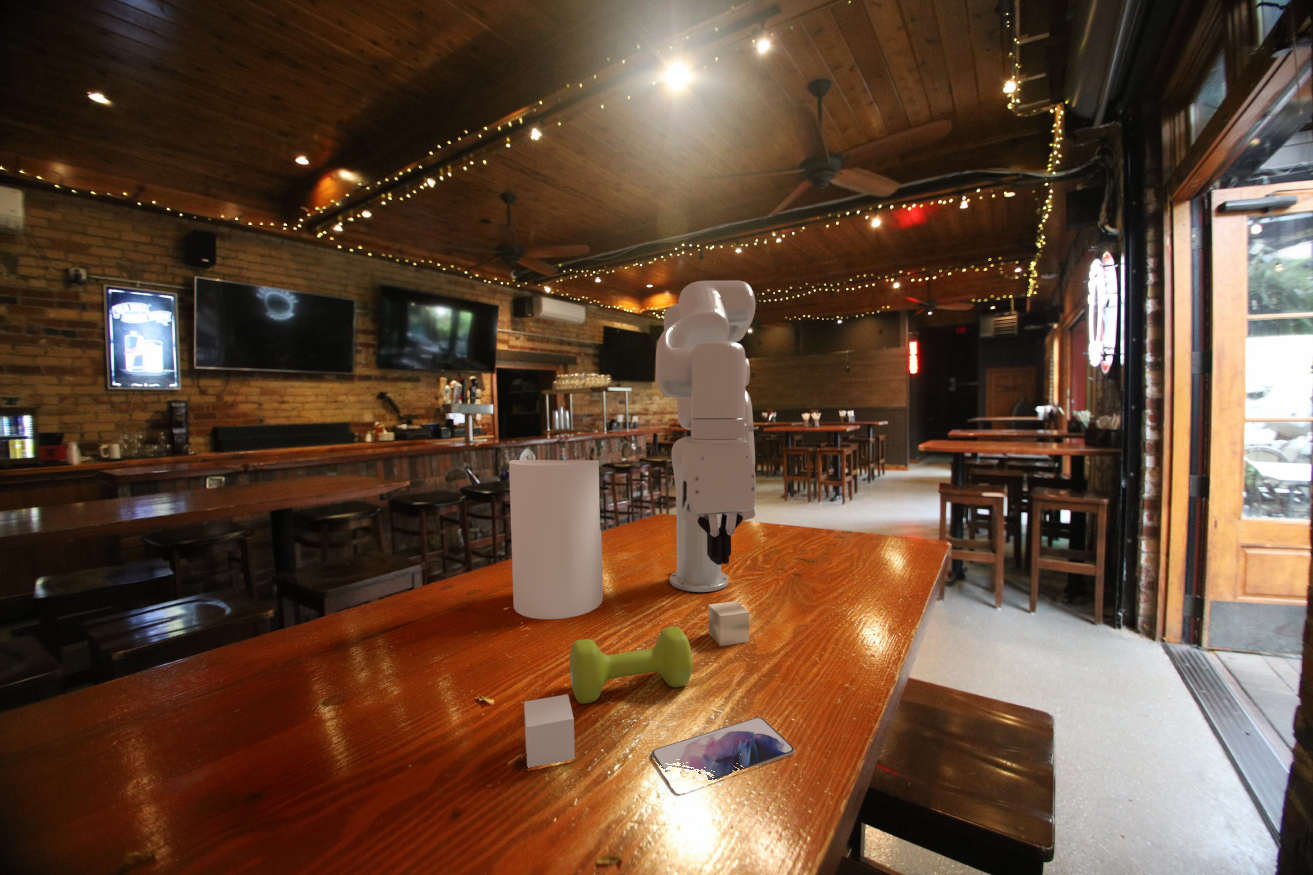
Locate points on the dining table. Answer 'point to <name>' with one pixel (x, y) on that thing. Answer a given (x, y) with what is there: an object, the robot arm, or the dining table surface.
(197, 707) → the dining table surface
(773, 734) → the smartphone
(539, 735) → the grey block
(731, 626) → the maple block
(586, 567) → the cylinder
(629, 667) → the dumbbell
